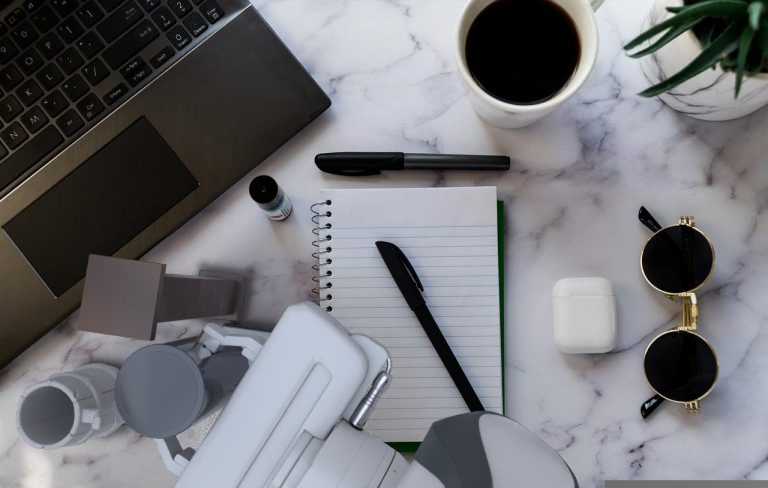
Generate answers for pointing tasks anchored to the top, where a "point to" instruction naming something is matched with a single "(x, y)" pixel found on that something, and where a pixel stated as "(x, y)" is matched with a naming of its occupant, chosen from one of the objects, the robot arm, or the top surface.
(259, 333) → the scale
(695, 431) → the top surface
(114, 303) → the stand
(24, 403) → the mug
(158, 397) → the grey cylinder
